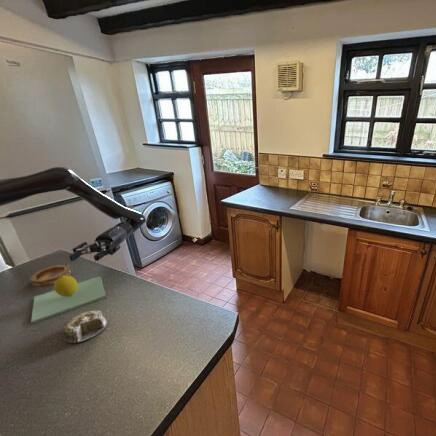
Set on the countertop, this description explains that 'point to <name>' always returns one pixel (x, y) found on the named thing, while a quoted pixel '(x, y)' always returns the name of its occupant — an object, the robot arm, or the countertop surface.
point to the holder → (49, 275)
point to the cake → (84, 326)
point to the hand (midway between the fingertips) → (83, 258)
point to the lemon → (66, 286)
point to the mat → (67, 300)
